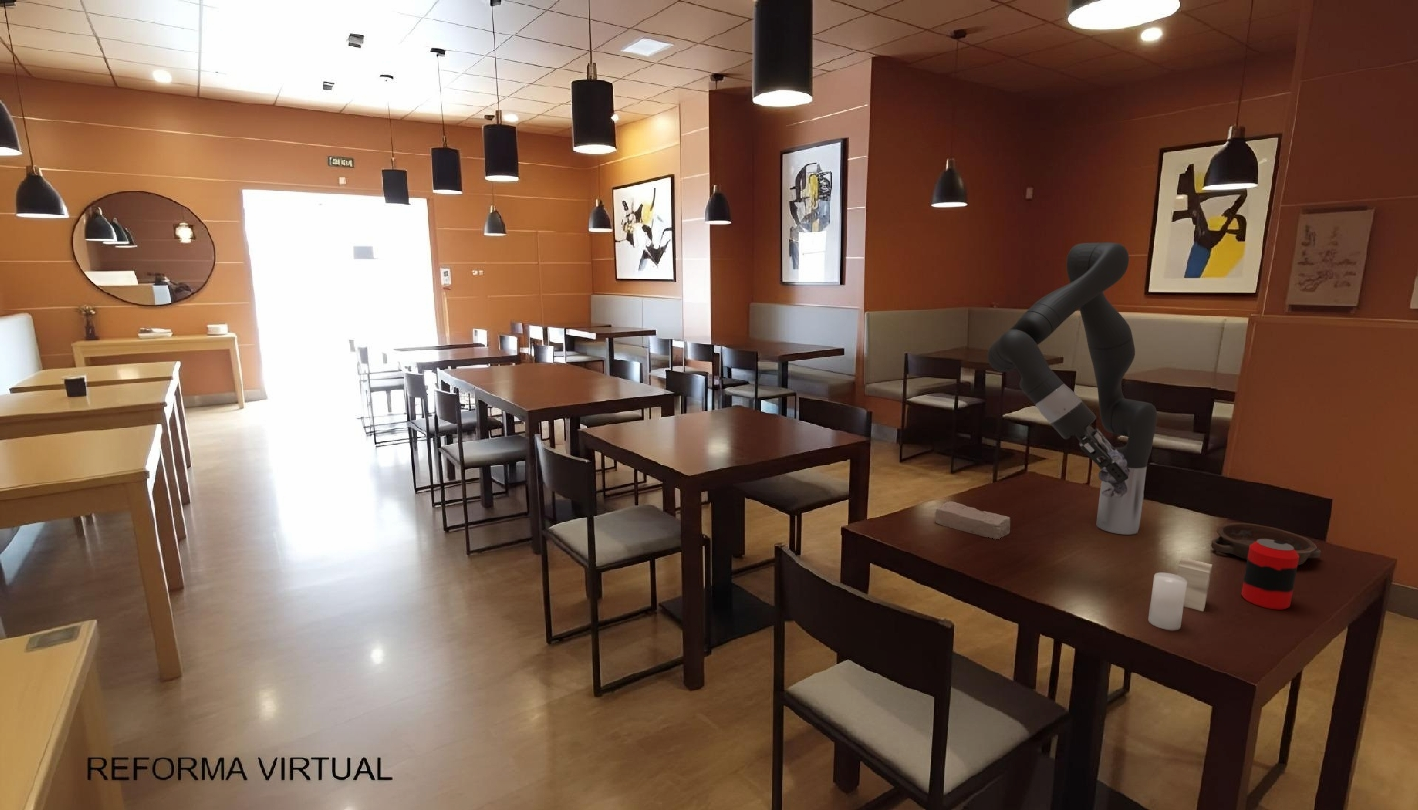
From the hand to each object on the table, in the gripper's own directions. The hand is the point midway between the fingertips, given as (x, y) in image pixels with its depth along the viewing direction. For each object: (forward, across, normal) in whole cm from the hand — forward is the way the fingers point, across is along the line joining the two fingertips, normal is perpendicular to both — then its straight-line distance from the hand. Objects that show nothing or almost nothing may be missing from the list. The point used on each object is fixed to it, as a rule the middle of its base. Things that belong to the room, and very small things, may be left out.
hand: (1124, 476), depth 136 cm
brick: (-5, +19, +40) cm, 44 cm away
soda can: (+36, +10, -2) cm, 37 cm away
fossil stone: (+2, 0, +5) cm, 5 cm away
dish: (+37, +39, -3) cm, 54 cm away
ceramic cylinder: (+24, -11, +10) cm, 28 cm away
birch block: (+27, +1, +7) cm, 28 cm away
